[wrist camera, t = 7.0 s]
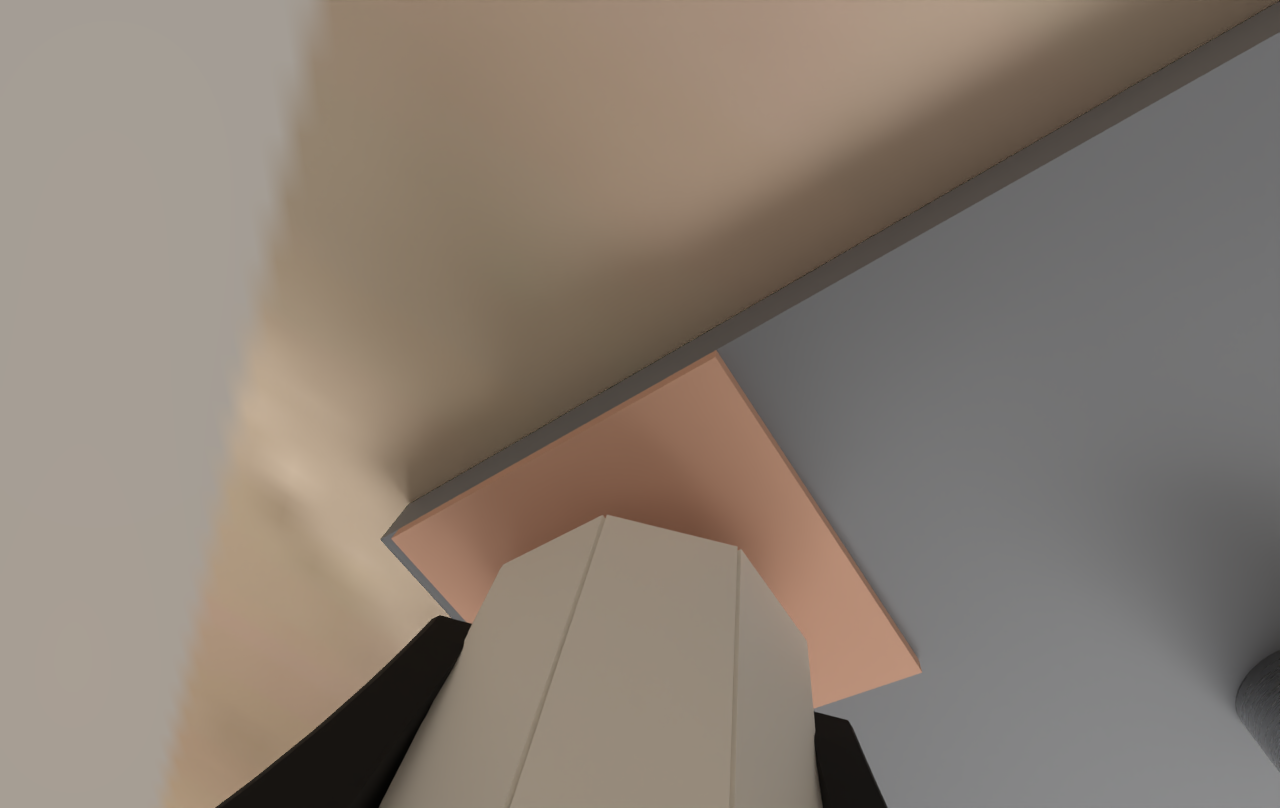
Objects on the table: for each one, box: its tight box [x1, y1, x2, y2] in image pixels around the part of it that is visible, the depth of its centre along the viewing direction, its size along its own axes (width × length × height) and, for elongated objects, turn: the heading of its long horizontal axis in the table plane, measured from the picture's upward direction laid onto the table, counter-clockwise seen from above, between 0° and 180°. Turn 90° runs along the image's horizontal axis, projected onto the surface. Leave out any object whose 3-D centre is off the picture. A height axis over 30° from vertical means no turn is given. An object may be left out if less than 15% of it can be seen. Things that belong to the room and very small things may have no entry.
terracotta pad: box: [391, 350, 922, 709], centre depth 13 cm, size 7×7×1 cm
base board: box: [380, 1, 1280, 808], centre depth 13 cm, size 18×14×1 cm
